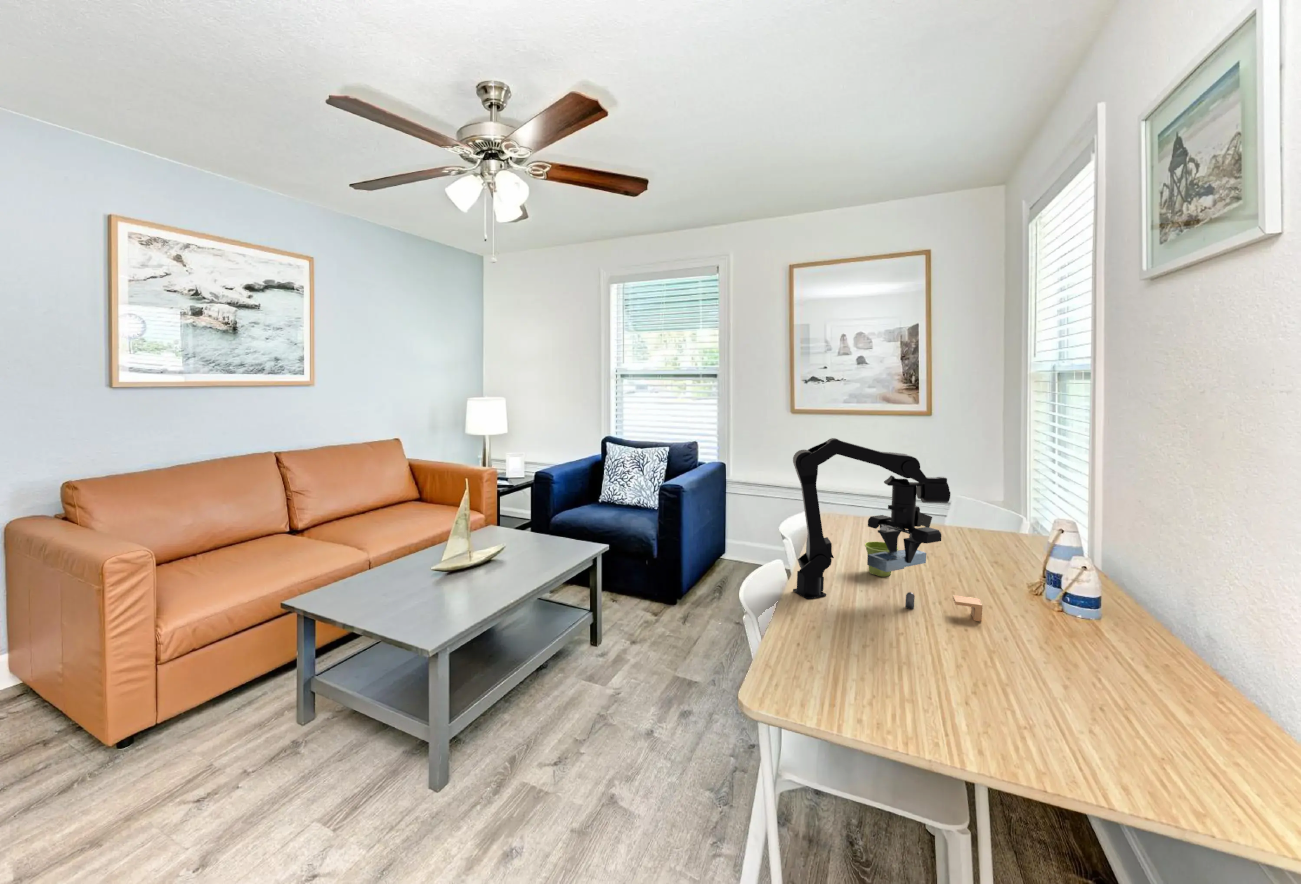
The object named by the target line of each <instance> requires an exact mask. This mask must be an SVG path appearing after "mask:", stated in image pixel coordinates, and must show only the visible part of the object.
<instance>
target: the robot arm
mask: <svg viewBox="0 0 1301 884" xmlns="http://www.w3.org/2000/svg"><path fill="white" fill-rule="evenodd" d="M836 455H839V456H843V457H846V458H849V459H853V460H856V461H860V462H864V463H867V464H871V465H875V466H878V467H881V468H883V469H885V470H887V471H888V472H891V473H893V474H896V475H898V476H900V477H902V478H896V477H895V476H893V474H892V475H891V474H890V475H889V476H888V478H886V479H885V480H884V481H883V483H884V484H885V485H887V486H889V487H892V488H891V504H888V505H887V509H888V510H890V511H891V513H890V516H888V515H884V514H880V515H879V514H878V515H872V516H869V518H868V520H867V527H868V528H872V529H878V528H879V529H878V530H877V533H878V534H879V535H880V536H881V538H882V540H883V541H884V542H885V544H886V546H887V548H888V550H889V552H894V551H898V550H897V547H898V541H899V540H898V539H899V536H900V534H901V533H906V534H909V537H905V538H903V545H904V550H905V556H906V561H907V563H911V561H912V559H913V557H914V555H915V553H916V551H917V550H919V547H920V546H921V544H932V543H938V542H942V532H941V531H940V530H939V529H936V528H934V527H933V528H932V527H930V526H931V523H932V520H933V516H931V515H928V514H925V513H923V512H921V508H920V506H917V499H918V500H920V501H921V502H922V503H923V504H928V503H929V504H949V502H950V499H951V491H950V486H949V483H948V478H947V477H945V476H936V477H934V476H933V477H931V476H930V477H929V476H928V477H927V476H926V475H925V474H924V472H923V471H922V469H921V463H920V462H919V460H918V459H917V457H914V456H911V455H908V454H907V453H900V452H891V451H890V452H889V451H880V450H875V449H872V448H869V447H864V446H861V445H857V444H854V443H851V442H848V441H844V440H840V439H838V438H835V437H831V438H829V439H828V440H825V441H824V442H822V443H819V444H817V445H814V446H812V447H810V448H809V449H801V450H798V451H796V452H795V453H794V455H793V457H792V463H793V466H794V469H795V473H796V474H797V477H798V480H799V483H800V487H801V495H802V501H803V508H804V509H803V511H804V517H805V522H806V531H807V537H806V544H805V553H803V554H801V556H800V557H798V559H797V562H798V565H799V567H800V569H799V570H797V573H796V587H795V588H793V589H792V592H794V593H796V594H797V595H799V596H801V597H803V598H805V599H807V600H811V599H817V598H823V597H826V596H827V593H825V592H824V583H825V581H824V580H825V579H824V573H825V570H827V569H828V568H829V567H831V565H832V559H834V558H835V557H834V555H833V551H832V548H833V545H832V542H831V540H830V538H829V537H827V536H826V537H825V535H824V533H823V532H824V531H823V526H822V519H821V511H820V503H819V497H818V496H819V495H818V488H817V481H818V480H817V479H818V475H819V474H818V473H819V466H820V465H823V464H824V463H825V462H827V461H828V460H830V459H831V458H832V457H835V456H836ZM909 479H911V480H913V481H916V482H913V481H912V482H911V481H909Z"/></svg>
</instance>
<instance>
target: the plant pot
mask: <svg viewBox="0 0 1301 884" xmlns="http://www.w3.org/2000/svg"><path fill="white" fill-rule="evenodd" d="M864 547H865V548H866V554H867V555H868V554H874V553H879V552H889V550H888V548H887V546H886V544H885V542H883V541H867V542H865V543H864ZM897 551H899V547H898V546H897ZM868 572H869V573H870V574H871V575H875V576H877V577H884V578H885V577H889V576H890V575H892V571H890V572H885V571H882V570H879V569H877V568H874V567H872V566H869V565H868Z"/></svg>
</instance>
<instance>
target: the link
mask: <svg viewBox="0 0 1301 884" xmlns="http://www.w3.org/2000/svg"><path fill="white" fill-rule="evenodd" d="M866 563H867V566H868V567H869V566H872V567H874V568H877V569H879V570H882V571H885V572H890V571H891V572H895V571H900V570H905V568H907V567H913V566H918V565H923V564H927V552H925V551H922V550H919V549H917V551H916V553H915V555H914V557H913V559H912V561H911V563H907V561H906V556H905V549H900V550H899V549H898V550H897V551H894V552H879V553H874V554H867V561H866Z"/></svg>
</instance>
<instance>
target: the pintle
mask: <svg viewBox="0 0 1301 884" xmlns="http://www.w3.org/2000/svg"><path fill="white" fill-rule="evenodd" d="M915 600H916V599H915V594H914V593H913V592H911V591H908V592H907V593H906V594H905V608H906V609H908V610H914V609H915Z"/></svg>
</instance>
